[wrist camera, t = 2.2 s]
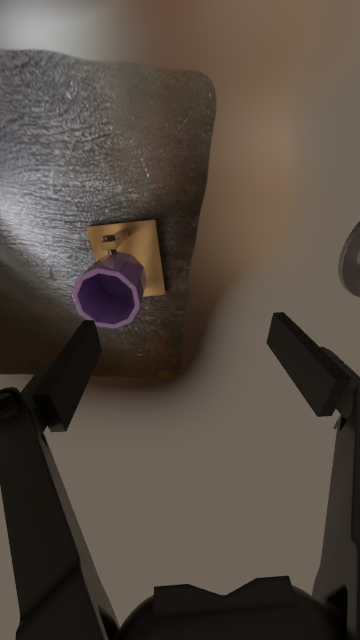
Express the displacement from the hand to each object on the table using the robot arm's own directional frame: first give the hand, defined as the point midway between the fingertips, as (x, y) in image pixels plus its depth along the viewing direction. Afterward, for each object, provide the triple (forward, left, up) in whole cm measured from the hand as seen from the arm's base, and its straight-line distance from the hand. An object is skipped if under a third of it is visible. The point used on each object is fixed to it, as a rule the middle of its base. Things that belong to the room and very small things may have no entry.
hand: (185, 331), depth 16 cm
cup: (+9, +1, -19) cm, 21 cm away
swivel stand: (+9, +1, -28) cm, 29 cm away
